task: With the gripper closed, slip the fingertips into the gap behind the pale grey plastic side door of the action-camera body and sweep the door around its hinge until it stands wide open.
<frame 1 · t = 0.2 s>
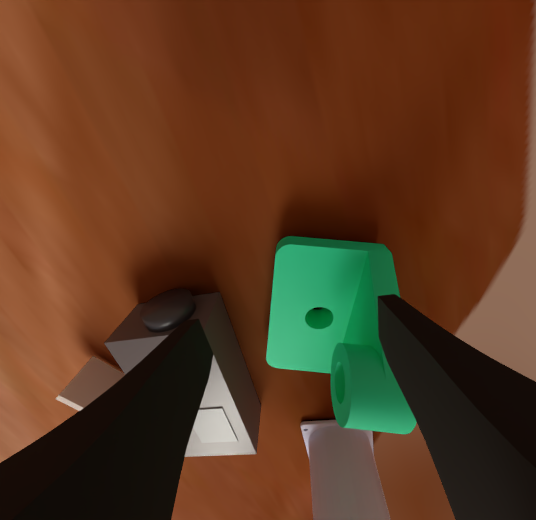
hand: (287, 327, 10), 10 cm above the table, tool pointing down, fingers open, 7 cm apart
camera mount: (315, 297, 22), on the table
camera body: (206, 360, 26), on the table
side door: (131, 409, 26), point 3 cm above the table, hinge at 35.0°
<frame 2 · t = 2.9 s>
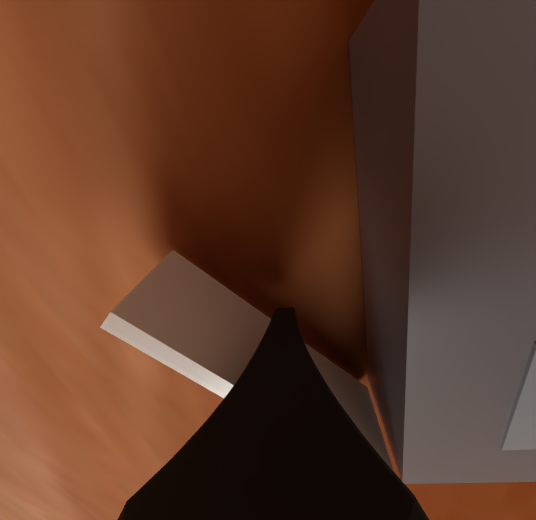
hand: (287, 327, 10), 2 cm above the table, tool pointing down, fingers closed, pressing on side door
camera body: (458, 248, 11), on the table
side door: (267, 372, 11), point 3 cm above the table, hinge at 37.9°, touching gripper
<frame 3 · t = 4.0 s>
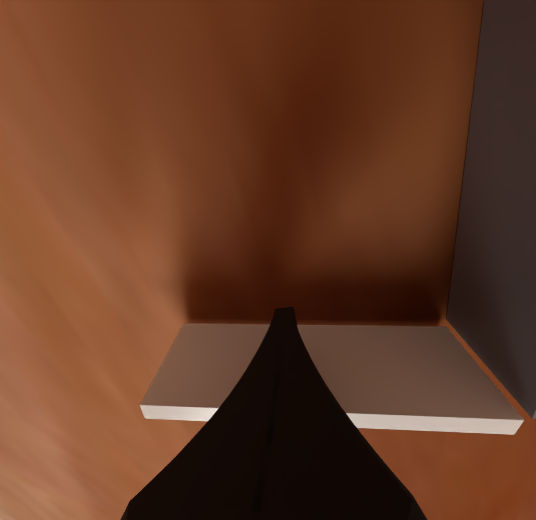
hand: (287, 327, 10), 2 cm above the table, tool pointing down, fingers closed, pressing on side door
side door: (313, 374, 11), point 3 cm above the table, hinge at 80.1°, touching gripper
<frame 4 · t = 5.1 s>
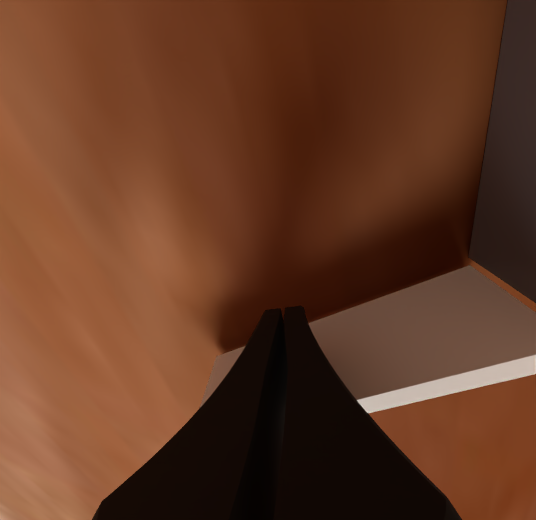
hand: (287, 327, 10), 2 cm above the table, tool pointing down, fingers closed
side door: (339, 366, 11), point 3 cm above the table, hinge at 106.6°, touching gripper
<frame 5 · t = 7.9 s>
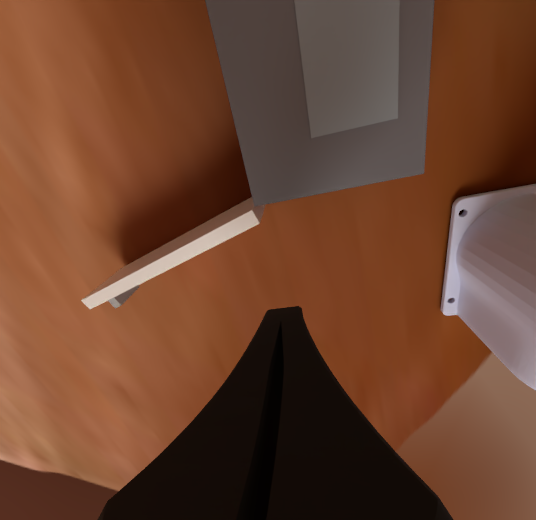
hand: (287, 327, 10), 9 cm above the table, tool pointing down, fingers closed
camera body: (304, 16, 13), on the table
side door: (180, 256, 17), point 3 cm above the table, hinge at 106.6°
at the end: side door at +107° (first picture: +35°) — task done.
